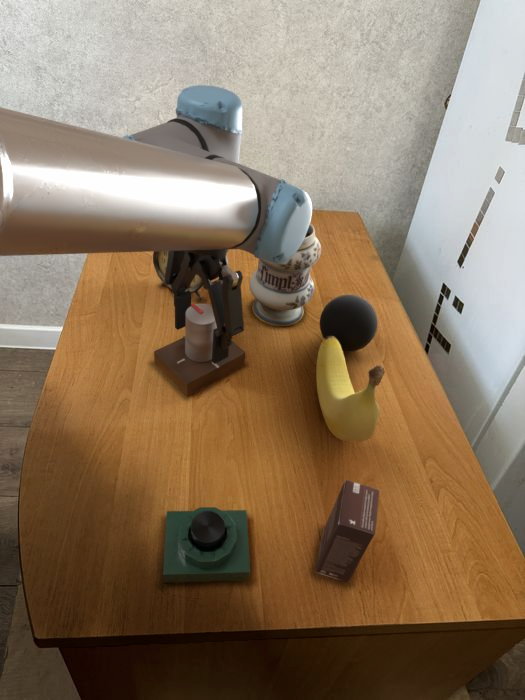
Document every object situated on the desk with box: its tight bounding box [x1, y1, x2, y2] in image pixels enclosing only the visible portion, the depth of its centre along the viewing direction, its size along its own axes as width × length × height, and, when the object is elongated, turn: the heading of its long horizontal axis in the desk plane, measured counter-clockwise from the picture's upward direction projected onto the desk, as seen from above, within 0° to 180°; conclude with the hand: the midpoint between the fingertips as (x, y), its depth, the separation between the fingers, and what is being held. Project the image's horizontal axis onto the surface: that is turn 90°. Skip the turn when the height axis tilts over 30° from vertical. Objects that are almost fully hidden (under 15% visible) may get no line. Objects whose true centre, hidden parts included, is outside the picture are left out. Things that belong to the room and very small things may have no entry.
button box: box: [162, 506, 251, 584], centre depth 64 cm, size 10×8×4 cm
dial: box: [184, 302, 217, 362], centre depth 84 cm, size 5×5×8 cm
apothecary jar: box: [248, 222, 322, 327], centre depth 95 cm, size 12×12×18 cm
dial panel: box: [153, 334, 247, 397], centre depth 87 cm, size 12×9×3 cm
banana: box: [315, 336, 386, 443], centre depth 77 cm, size 23×6×20 cm, turn 4°
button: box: [191, 511, 225, 551], centre depth 62 cm, size 4×4×2 cm
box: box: [315, 479, 380, 583], centre depth 62 cm, size 6×4×12 cm
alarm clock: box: [152, 251, 204, 301], centre depth 97 cm, size 11×5×16 cm, turn 65°
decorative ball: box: [319, 294, 379, 353], centre depth 93 cm, size 10×10×10 cm
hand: (200, 341), depth 85 cm, fingers open, 9 cm apart
